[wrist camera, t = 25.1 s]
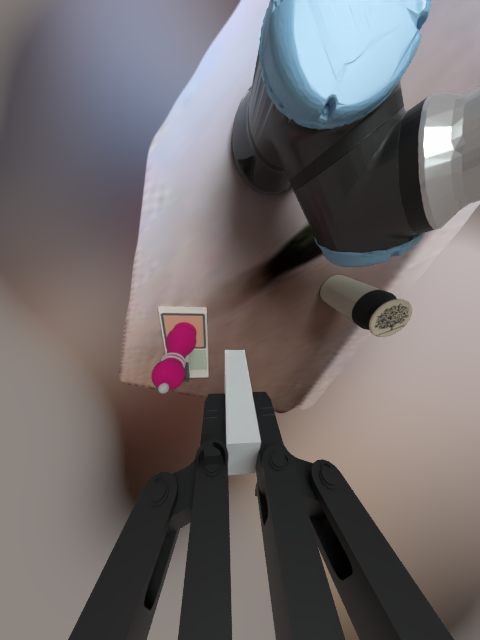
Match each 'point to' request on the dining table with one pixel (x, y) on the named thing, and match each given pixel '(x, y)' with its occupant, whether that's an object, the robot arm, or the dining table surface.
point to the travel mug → (366, 305)
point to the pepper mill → (174, 357)
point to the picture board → (198, 319)
